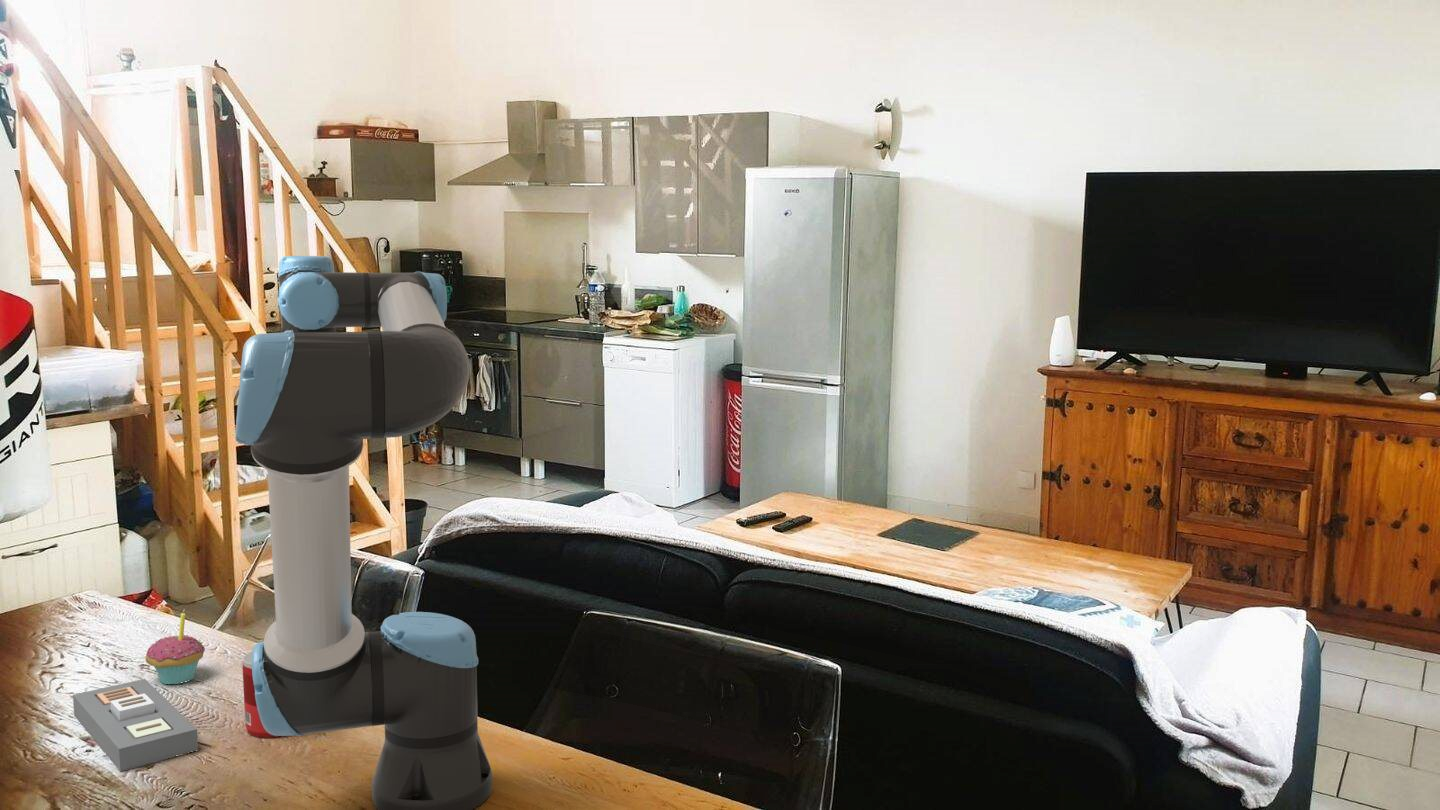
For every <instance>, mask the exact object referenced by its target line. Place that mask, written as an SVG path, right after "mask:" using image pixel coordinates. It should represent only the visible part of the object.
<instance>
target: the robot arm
mask: <svg viewBox="0 0 1440 810" xmlns="http://www.w3.org/2000/svg"><path fill="white" fill-rule="evenodd" d="M334 270H335V269H334V261H333V260H332V258H330V257H329V256H326V255H325V256H324V255H285V256H283V257H281V258H280V260H279V262H278V274H277V277H278V282H279V283H278V284H279V290H278V292H277V306H278V310H279V312H280V322H281V323H280V325H281V328H280V329H281V331H280V332H272V333H269V332H268V333H257V334H255V335H252V336H250V337H249V338H248V339H247V340H246V341H245V342H244V345H243V347H242V354H241V363H240V375H239V385H238V400H237V410H236V419H235V426H236V427H235V433H234V434H235V436H234V439H235V442H237V443H238V444H241V445H242V444H243V445H245V446H250V453H251V455H252V458H253V460H254V461H255V463H257V464H258V465H259V466H260V467H261V468H263V469H265V470H267V485H268V486H267V487H268V503H269V519H270V520H269V522H270V533H271V534H270V537H271V557H272V559H271V560H272V573H273V574H272V575H273V591H274V592H273V593H274V610H275V612H274V613H275V621H273V623H272V624H271V625H270V626H269V627H268V628H267V631H266V632H265V635H264V638H263V640H262V641H260V642H257V643H255V644H254V646H253V648H252V651H253V652H252V651H251V652H252V675H253V683H254V688H255V699H256V704H257V709H258V713H259V717H260V720H261V723H262V725H263V727H264V729H265V730H266V731H267V732H268V733H269V734H271V735H274V736H281V737H284V736H285V737H286V736H288V737H289V736H291V737H292V736H297V737H301V736H307V735H311V734H318V733H319V734H320V733H325V732H334V731H343V730H344V731H345V730H351V729H359V728H365V727H366V728H369V727H374V726H375V727H376V726H383V725H384V743H383V745H382V749H381V753H380V755H379V758H378V761H377V765H376V769H375V771H374V775H373V778H372V782H371V783H372V784H371V794H372V795H371V797H372V798H371V800H372V803H373V805H374V807H375V808H376V809H377V810H473V809H476V808H478V807H480V805H482V804H483V803H484V802H485V801H487V800H488V798H490V796H491V795H492V791H493V771H492V767H491V764H490V762H489V759H488V757H487V754H486V751H485V748H484V745H483V742H482V740H481V738H480V737H481V736H480V735H479V730H478V729H479V726H478V717H479V716H478V679H477V678H478V677H477V676H478V675H477V673H478V671H477V670H478V669H477V667H478V665H479V657H478V655H477V642H476V640H477V639H476V634H475V633H474V630H473V629H472V627H471V626H470V625H469V624H467V623H466V622H464V621H463V620H462V619H459V618H456V617H454V616H452V615H451V616H450V615H449V614H448V615H447V614H443V613H438V612H427V611H425V612H424V611H408V612H407V611H406V612H400V613H398V614H392V615H389V616H388V617H386V618H385V619H384V620H383V622H382V624H381V625H380V630H378V631H377V630H376V631H365V627H364V625H363V623H362V621H361V620H360V619H359V618H358V617H357V616H356V615H354V614H353V613H352V571H351V570H352V569H351V568H352V567H351V565H352V564H351V561H352V560H351V556H352V555H351V514H350V513H351V512H350V511H351V509H350V508H351V507H350V506H351V505H350V503H351V502H350V501H351V499H350V466H351V465H353V464H354V463H356V461H357V460H358V459H360V457H361V456H362V453H363V449H364V440H371V439H372V440H373V439H387V438H400V437H403V436H408V435H412V434H414V433H418V432H419V431H422V430H424V429H426V428H428V427H429V426H432V425H434V424H436V423H437V422H438V421H440V420H441V419H442V418H443V417H444V416H446V415H447V414H449V413H450V412H451V410H453V408H454V407H455V406H456V405H457V404H458V402H459V401H460V400H461V398H462V396H463V395H464V394H465V391H466V390H467V387H468V384H469V380H470V373H471V372H470V371H471V366H470V365H471V363H470V359H469V355H468V353H467V350H466V348H465V346H464V344H463V342H462V341H461V340H460V338H459V337H458V335H456V334H455V333H454V332H453V331H451V330H450V329H448V328H447V327H446V326H445V321H446V320H447V313H448V312H447V310H448V300H447V299H448V295H447V286H446V280H445V278H444V276H442V275H441V274H440V273H435V272H433V273H431V272H430V273H429V272H422V271H415V272H349V271H348V272H341V271H340V272H336V271H334ZM365 327H366V328H367V327H368V328H370V327H371V328H373V327H375V328H377V327H378V328H379V327H381V330H380V331H337V332H336V328H365Z"/></svg>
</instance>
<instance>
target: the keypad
mask: <svg viewBox="0 0 1440 810" xmlns="http://www.w3.org/2000/svg"><path fill="white" fill-rule="evenodd" d="M126 687H131V688H132V689H133V690H134V691H135V692H136V693H137V694H138V695H140V694H144V693H145V694H146V695H147V696H148V697H149V698H150V699H151V700H152V701H153V702H154V706H155V713H153V714H149V715H145V716H141V717H136V718H132V719H128V720H124V721H120V722H118V721H117V720H116V719H115V718H114V716H113V715H112V714H111V704H108V705H103V704H102V703H101V702H100V701H99V700H98V699H97V694H100V693H104V692H109V691H113V690H117V689H122V688H126ZM72 701H73V703H72V704H73V716H74V718H76V720H77V721H78V722H79V723H80V724H81V725H82V727H83V728H84V729H85V730H86V732H87V733H88V734H89V736H91V738H92V739H93V740H94V742H95V743H96V744H97V745H98V746H99V747H100V749H101V750H102V751H103V752H104V753H105V755H106V756H107V757H108V759H109V760H110V761H111V762H112V763H113V765H114V766H115V768H116V769H117V770H118V771H119V772H120V773H121V772H124V771H127V770H131V769H136V768H140V767H143V766H147V765H150V764H154V763H158V762H161V761H166V760H169V759H168V758H170V757H173V758H175V757H174V756H176V755H180V754H185V753H188V752H191V751H196V750H198V751H199V743H198V741H199V739H198V729H197V728H196V727H195V725H194V724H192V723H191V722H190V721H189V720H188V719H187V718H186V717H185V716H184V715H183V714H182V713H181V711H179V710H178V708H176V707H175V706H174V705H173V704H172V703H171V702H169V700H167V699H166V698H165V697H164V695H162V694H161V693H160V691H158V689H156V688H155V687H154V686H153V685H152V684H151V682H149V681H148V680H147V679H146V678H142V679H138V680H134V681H129V682H124V683H119V684H115V685H111V686H105V687H102V688H97V689H92V690H88V691H84V692H78V693H76V694H75V693H74V694H72ZM159 718H162V719H163V720H164V722H165V723H166V724H167V725H168V726H169V727H170V728H171V729H172V730H170V731H166V732H162V733H158V734H154V735H150V736H146V737H142V738H138V739H133V738H132V736H131V735H130V734H129V733H128V732H127V731H126V727H127V726H131V725H135V724H139V723H143V722H147V721H151V720H155V719H159ZM196 752H197V751H196ZM188 754H189V753H188ZM185 755H186V754H185ZM165 759H166V760H165ZM170 759H171V758H170Z"/></svg>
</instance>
